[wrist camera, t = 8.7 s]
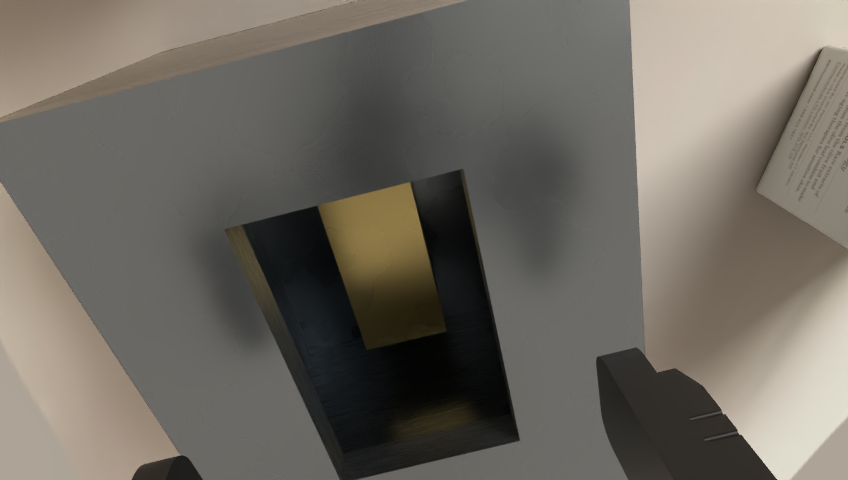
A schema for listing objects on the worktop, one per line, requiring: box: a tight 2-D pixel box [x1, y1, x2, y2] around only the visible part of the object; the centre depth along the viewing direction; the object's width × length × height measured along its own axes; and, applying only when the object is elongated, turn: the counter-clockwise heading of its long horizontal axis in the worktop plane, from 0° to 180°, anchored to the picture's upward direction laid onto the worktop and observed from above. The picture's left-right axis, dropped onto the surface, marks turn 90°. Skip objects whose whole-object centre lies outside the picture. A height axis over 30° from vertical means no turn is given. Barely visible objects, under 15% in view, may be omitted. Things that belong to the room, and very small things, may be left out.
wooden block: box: [318, 182, 447, 350], centre depth 19 cm, size 3×6×4 cm, turn 12°
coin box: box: [0, 0, 645, 480], centre depth 17 cm, size 12×14×10 cm
